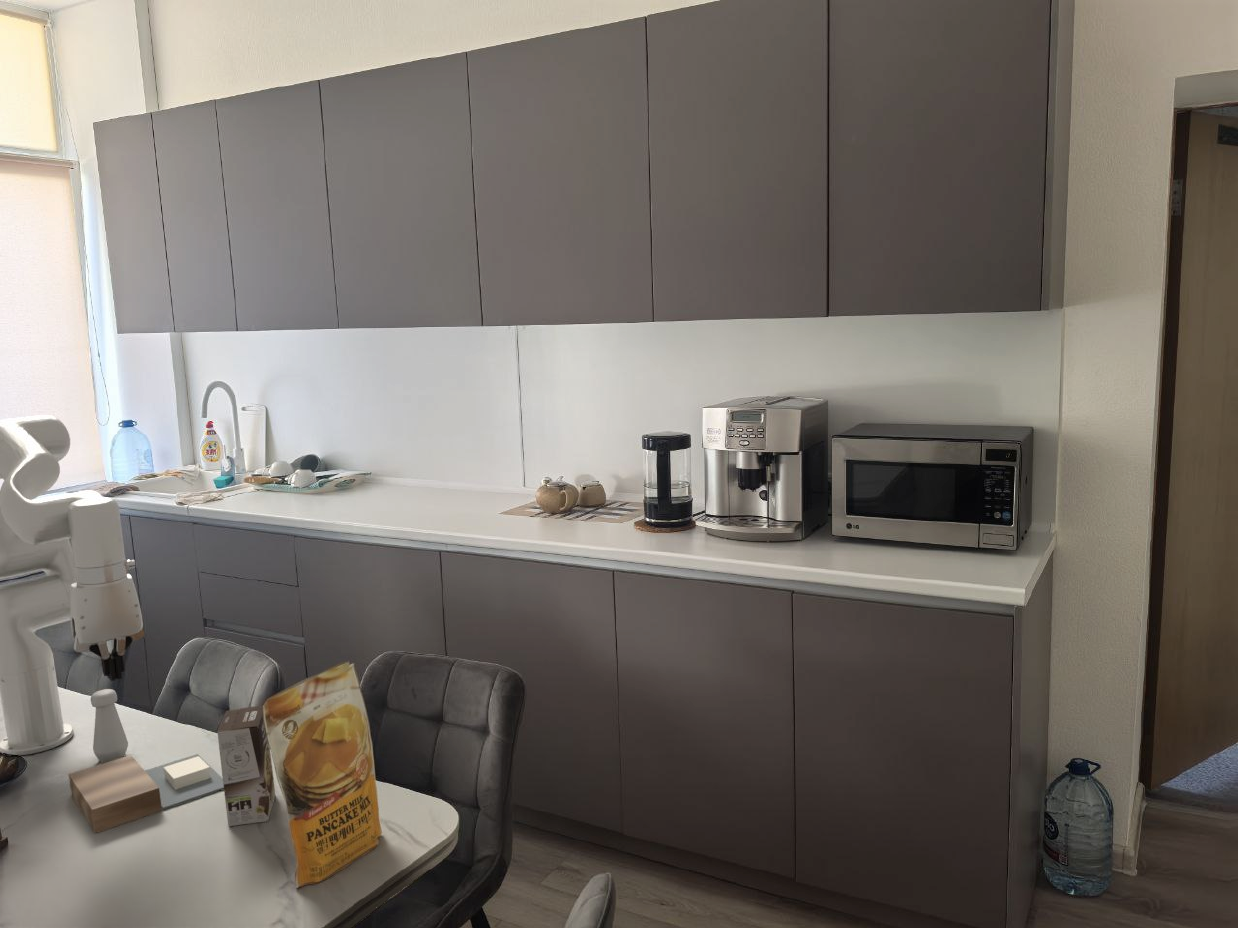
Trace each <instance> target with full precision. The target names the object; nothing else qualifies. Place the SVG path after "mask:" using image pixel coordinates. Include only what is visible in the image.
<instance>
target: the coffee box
mask: <svg viewBox="0 0 1238 928" xmlns="http://www.w3.org/2000/svg"><path fill="white" fill-rule="evenodd" d="M262 707H263V705H257V706H256V705H255V706H249V707H244V708H243V707H242V708H239V709H231V710H226V711H225V713H224V715H223V718H222V720H221V722H220V724H219V727H218V730H217V739H218V749H219V756H220V757H219V759H220V766H221V768H220V769H221V774H222V776H221V777H222V778H223V785H224V790H223V791H224V800H225V802H224V803H225V808H226V817H227V826H228V827H232V826H233V827H234V826H241V825H248V824H257V823H262V822H263V823H265V822H268V821H269V820H270V815H271V811H272V808H273V804H274V802H275V801H274V800H275V797H276V790H275V780H274V779H275V778H274V770H273V762H272V761H273V760H272V753H271V749H270V746H269V744H268V741H267V737H266V732H265V727H264V722H263V715H262Z"/></svg>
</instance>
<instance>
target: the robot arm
mask: <svg viewBox="0 0 1238 928" xmlns="http://www.w3.org/2000/svg"><path fill="white" fill-rule="evenodd" d="M70 448H71V436H70V433H69V430H68V428H67V427H66V426H65V424H64V423H63V422H62V421H61V420H60V419H58V418H57V417H55V416H53V415H49V414H44V415H43V414H42V415H41V414H40V415H32V416H25V417H24V416H23V417H22V416H21V417H17V418H16V417H15V418H14V417H13V418H6V419H0V480H1V479H2V480H3V482H2V484H1V487H0V580H3V579H7V578H13V577H17V576H22V575H27V574H31V573H34V572H40V571H42V572H43V573H45V575H46V576H42V577H37V578H33V579H28V580H23V581H19V582H18V581H17V582H15V583H11V584H7V585H6V584H5V585H4V586H3V585H2V586H0V701H1V706H2V707H1V708H2V715H3V719H4V720H3V721H4V724H5V727H4V728H5V732H6V736H5V737H4V738H2V740H0V753H1V754H3V753H7V754H13V755H18V756H27V755H34V754H37V753H38V754H39V753H41V752H45V751H48V750H51V749H54V748H56V747H58V746H60V745H63V744H64V743H66V742H68V741H69V740H70V739H71V738H73V736H74V727H73V725H71V724H69V723H64V720H63V714H62V706H61V700H60V693H59V688H58V686H59V685H58V680H57V673H56V667H55V661H54V653H53V651H52V648H51V645H49V644H48V642H46V641H45V640H43V639H42V638H40V637H39V636H37V635H36V633H35V632H36V631H37V630H40V629H43V628H46V627H50V626H54V625H57V624H61V623H65V622H68V621H70V628H71V636H72V637H73V638H74V644H73V650H74V651H75V652H76V653H92V654H93V655H96V656H98V657H100V660H101V667H102V674H103V676H104V677H107V678H108V679H109V681H111V682H114V681H116V680H123V674H122V673H123V672H125V664H124V663H125V662H124V654H125V653H126V650H127V649H128V648H129V646H130V645H132V643H133V642H135V641H138V640H140V639H142V638H144V637H145V635H146V634H145V631H144V629H143V627H144V622H143V614H142V609H141V605H140V600H139V597H138V593H137V589H136V585H135V582H134V579H133V577H132V575H131V574H130V573H129V571H130V570H131V569H135V568H136V561H135V559H131V560H130V559H126V555H125V545H124V538H123V537H124V535H123V529H122V522H121V513H120V507H119V504H118V501H116V499H114V498H111V497H105V496H104V495H103V494H102V493H100V492H98V491H96V490H81V491H75V492H70V493H63V494H62V493H61V494H57V495H51V496H45V497H40V498H38V497H39V496H41V495H43V494H44V493H46V492H47V491H49V490H50V489H51V488H52V487H53V486H54V485H55V484H56V482H57V481H58V479H59V477H60V473H61V467H60V463H59V462H60V461H61V460H63V458H65V457H66V456H67V455H68V453H69V451H70ZM109 641H112V650H111V652H110V650H109V647H108V645H107V642H109Z"/></svg>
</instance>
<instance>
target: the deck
mask: <svg viewBox="0 0 1238 928" xmlns="http://www.w3.org/2000/svg"><path fill="white" fill-rule="evenodd" d="M68 778H69V779H68V781H69V787H70V794H71V797H72V799H73V800H74V802H75V804H76V805H77V807H78V808H79V810H80V811H81V813H82V814H83V816H84V817H85V820H86V821H87V822H88V823H89V825H90V827H91V828H92V830H93V832H94V833H95V834H97V833H101V832H104V831H106V830H109V829H112V828H115V827H118V826H120V825H123V824H126V823H129V822H133V821H135V820H138V819H141V818H144V817H147V816H150V815H153V814H156V813H158V812H162V811H163V809H162V806H161V798H160V791H159V787H158V786H157V785H156V784H155V782H154V781H153V780H152V779H151V778H150V777H149V775H148V774H147V773H146V772H145V769H144V768H143V767H142V765H140V764H139V762H138V761H137V760H136V759H135V758H134V756H133V755H132V754H130V755H127V756H126V755H125V756H124V757H123V758H120V759H116V760H113V761H110V762H106V763H100V764H97V765H94V766H91V767H87V768H83V769H80V770H77V771H73V772H70V773H68Z"/></svg>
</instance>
